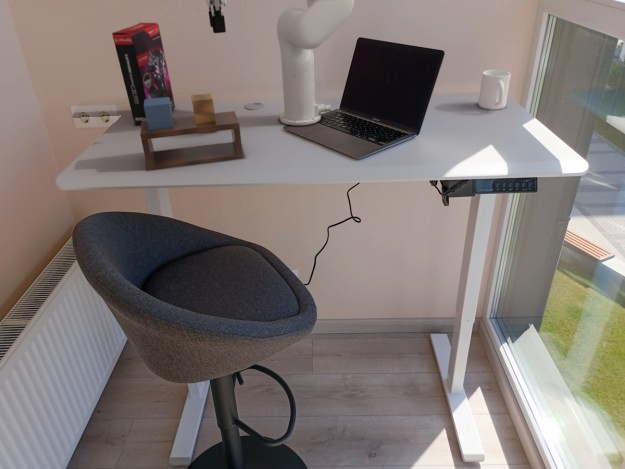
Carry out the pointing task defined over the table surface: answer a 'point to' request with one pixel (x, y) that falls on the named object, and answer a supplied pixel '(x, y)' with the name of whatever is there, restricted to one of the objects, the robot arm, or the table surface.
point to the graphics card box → (142, 66)
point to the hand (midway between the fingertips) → (218, 29)
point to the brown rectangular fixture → (198, 152)
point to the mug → (494, 89)
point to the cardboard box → (203, 108)
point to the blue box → (158, 113)
